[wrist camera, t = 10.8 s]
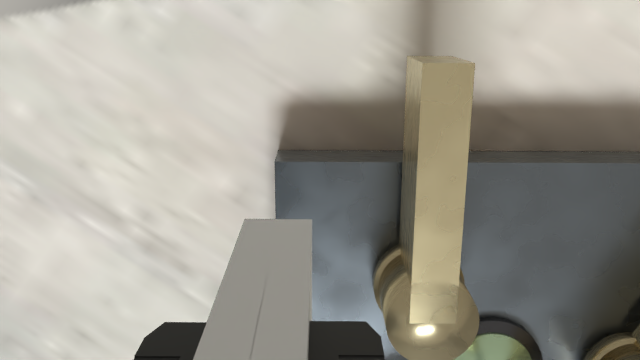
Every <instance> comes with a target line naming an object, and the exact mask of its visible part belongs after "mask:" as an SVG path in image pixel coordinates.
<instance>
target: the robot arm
mask: <svg viewBox="0 0 640 360" xmlns="http://www.w3.org/2000/svg"><path fill="white" fill-rule="evenodd" d="M134 360H385V358H384V350H383V345H382V340H381V336H380V335H379V334H378V333H377V332H376V331H375V330H374V329H373V328H372V327H371V326H370V325H369V324H368V323H367V322H366V321H312V219H245V220H244V223H243V225H242V228H241V231H240V233H239V236H238V239H237V242H236V244H235V247H234V250H233V252H232V255H231V258H230V261H229V263H228V266H227V269H226V271H225V274H224V277H223V280H222V282H221V285H220V288H219V290H218V293H217V296H216V299H215V301H214V304H213V307H212V309H211V312H210V315H209V318H208V320H207V323H196V322H165V323H163V324H162V325H161V326H159V327H158V328H157V329H155V330H154V331H153V332H151V333H150V334H149V335H147V336H146V337H145V338H144V340H143V342H142V343H141V345H140V347H139V349H138V351H137V353H136V354H135V358H134Z"/></svg>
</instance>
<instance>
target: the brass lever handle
mask: <svg viewBox="0 0 640 360" xmlns="http://www.w3.org/2000/svg"><path fill="white" fill-rule="evenodd" d="M583 360H640V324H639V325H638V327H637V328H636V329H635V331H634V332H620V333H615V334H612V335H609V336H607V337H605V338H603V339H602V340H600V341H599V342H597V343H596V344H595V345H594V346H593V347H592V348H591V349H590V350H589V351H588V352H587V354H586V356H585V357H584V359H583Z"/></svg>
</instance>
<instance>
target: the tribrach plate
mask: <svg viewBox="0 0 640 360" xmlns="http://www.w3.org/2000/svg"><path fill="white" fill-rule="evenodd" d="M402 165H403V151H333V150H278V153H277V156H276V160H275V203H276V219H312V321H366V322H367V323H368V324H369V325H370V326H371V327H372V328H373V329H374V330H375V331H376V332H377V333H378V334H379V335H380V336H381V340H382V345H383V350H384V358H385V360H408V359H406V358H405V357H403V356H402V355H401V354H399V353H398V352H397V351H396V350H395V349H394V347H393V346H392V344H391V342H390V340H389V338H388V335H387V331H386V326H385V322H384V317H383V313H382V311H381V310H380V308H379V306H378V304H377V302H376V299H375V295H374V290H373V274H374V270H375V267H376V265H377V263H378V261H379V260H380V258H381V257H382V256H383V255H384V254H385V253H386V252H387V251H388V250H389V249H390V248H392V247H393V246H395V245H397V244H399V235H400V211H401V188H402ZM460 268H461V270H462V273H463V276H464V282H465V286H466V288H467V289H468V291H469V293H470V295H471V297H472V298H473V300H474V302H475V304H476V306H477V309H478V313H479V328H478V332H477V335H476V337H475V339H474V341H473V343H472V344H471V345H470V347H469V348H468V349H467V350H466V351H465V352H464V353H463V354H461V355H460V356H458V357H457V358H455V359H453V360H583V359H584V357H585V356H586V354H587V352H588V351H589V350H590V349H591V348H592V347H593V346H594V345H595V344H596V343H597V342H599V341H600V340H602V339H603V338H605V337H607V336H609V335H612V334H615V333H620V332H634V331H635V329H636V328H637V327H638V325H639V324H640V152H559V151H469V153H468V166H467V180H466V194H465V207H464V221H463V235H462V248H461V262H460Z"/></svg>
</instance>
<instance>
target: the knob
mask: <svg viewBox="0 0 640 360" xmlns="http://www.w3.org/2000/svg"><path fill="white" fill-rule="evenodd" d="M474 71H475V63H472V62H469V61H466V60H463V59H459V58H456V57H453V56H407V73H406V96H405V119H404V142H403V165H402V188H401V211H400V235H399V244H397V245H395V246H393V247H392V248H390V249H389V250H388V251H387V252H386V253H385V254H384V255H383V256H382V257H381V258H380V260H379V261H378V263H377V265H376V267H375V270H374V274H373V290H374V295H375V299H376V302H377V304H378V306H379V308H380V310H381V311H382V313H383V317H384V322H385V326H386V331H387V335H388V338H389V340H390V342H391V344H392V346H393V347H394V349H395V350H396V351H397V352H398V353H399V354H401V355H402V356H403V357H405V358H406V359H408V360H453V359H455V358H457V357H458V356H460V355H461V354H463V353H464V352H465V351H466V350H467V349H468V348H469V347H470V345H471V344H472V343H473V341H474V339H475V337H476V335H477V332H478V328H479V313H478V309H477V306H476V304H475V302H474V300H473V298H472V297H471V295H470V293H469V291H468V289H467V288H466V286H465V282H464V276H463V273H462V270H461V268H460V262H461V248H462V235H463V221H464V207H465V194H466V180H467V166H468V153H469V139H470V125H471V112H472V98H473V84H474Z"/></svg>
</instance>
